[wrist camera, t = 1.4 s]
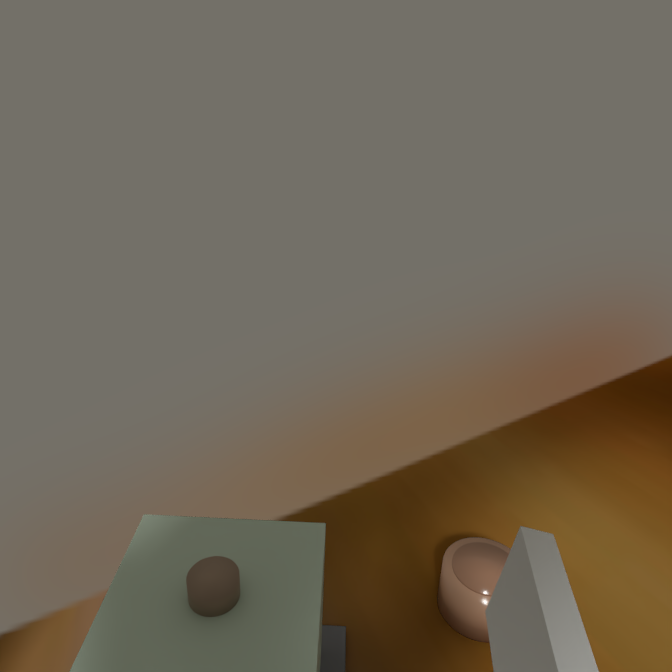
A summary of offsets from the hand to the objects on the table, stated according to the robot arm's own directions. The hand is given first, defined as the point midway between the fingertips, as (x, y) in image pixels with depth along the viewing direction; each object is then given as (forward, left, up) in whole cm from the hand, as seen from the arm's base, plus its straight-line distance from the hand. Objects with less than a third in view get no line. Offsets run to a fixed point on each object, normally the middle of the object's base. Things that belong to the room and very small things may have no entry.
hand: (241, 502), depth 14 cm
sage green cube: (-1, -9, -23) cm, 24 cm away
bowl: (-19, -9, -23) cm, 32 cm away
